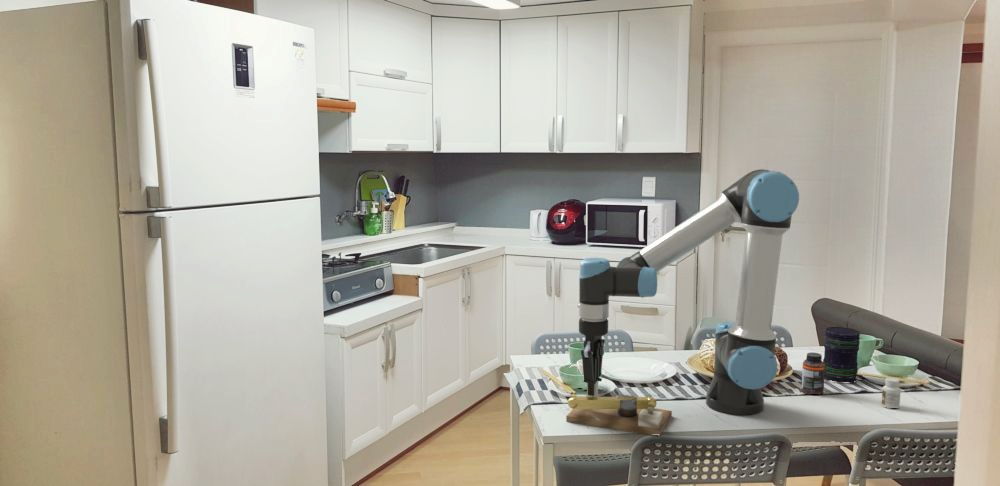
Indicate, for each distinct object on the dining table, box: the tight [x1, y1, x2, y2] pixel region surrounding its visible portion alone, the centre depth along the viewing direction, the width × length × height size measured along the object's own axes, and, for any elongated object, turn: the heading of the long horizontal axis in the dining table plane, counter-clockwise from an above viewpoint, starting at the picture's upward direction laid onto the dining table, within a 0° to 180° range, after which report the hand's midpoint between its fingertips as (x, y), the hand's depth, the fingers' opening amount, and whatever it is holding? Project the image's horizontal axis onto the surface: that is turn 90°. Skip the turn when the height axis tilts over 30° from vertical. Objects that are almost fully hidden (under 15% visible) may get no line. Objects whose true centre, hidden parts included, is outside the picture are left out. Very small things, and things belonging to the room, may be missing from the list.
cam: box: [567, 394, 658, 417], centre depth 200 cm, size 23×5×4 cm, turn 91°
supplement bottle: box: [801, 352, 825, 395], centre depth 223 cm, size 6×6×11 cm
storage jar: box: [822, 326, 861, 382], centre depth 235 cm, size 10×10×15 cm
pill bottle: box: [881, 377, 902, 409], centre depth 211 cm, size 4×4×8 cm
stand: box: [565, 407, 673, 436], centre depth 201 cm, size 24×15×6 cm, turn 66°
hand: (592, 405), depth 203 cm, fingers closed
